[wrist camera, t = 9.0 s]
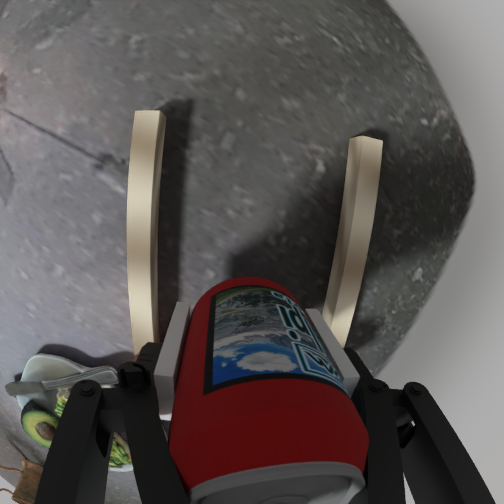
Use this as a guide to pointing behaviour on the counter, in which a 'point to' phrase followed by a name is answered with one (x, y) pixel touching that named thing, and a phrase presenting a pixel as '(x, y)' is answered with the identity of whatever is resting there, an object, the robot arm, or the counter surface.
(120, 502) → the counter surface
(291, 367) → the beverage can
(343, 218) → the guide channel
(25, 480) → the mug
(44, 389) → the avocado toast plate
